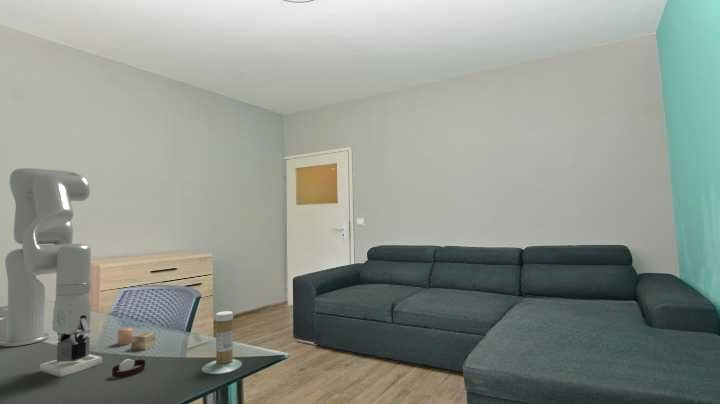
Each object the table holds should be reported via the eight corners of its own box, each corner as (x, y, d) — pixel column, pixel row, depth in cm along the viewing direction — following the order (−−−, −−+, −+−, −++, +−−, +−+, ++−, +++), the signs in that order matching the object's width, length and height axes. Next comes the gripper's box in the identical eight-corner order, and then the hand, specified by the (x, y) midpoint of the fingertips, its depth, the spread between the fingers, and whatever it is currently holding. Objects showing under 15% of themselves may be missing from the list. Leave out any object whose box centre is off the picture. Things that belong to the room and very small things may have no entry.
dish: (40, 371, 100) (40, 364, 100) (81, 358, 109) (81, 352, 109) (60, 377, 96) (60, 370, 96) (101, 363, 105) (102, 357, 105)
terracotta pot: (114, 344, 122) (114, 330, 123) (127, 340, 126) (128, 326, 127) (122, 345, 120) (122, 331, 121) (136, 341, 124) (136, 328, 125)
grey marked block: (89, 354, 105) (89, 336, 106) (75, 361, 100) (75, 342, 101) (71, 354, 105) (72, 336, 106) (56, 361, 100) (57, 342, 101)
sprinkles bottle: (231, 357, 107) (231, 309, 108) (234, 362, 103) (233, 313, 104) (214, 360, 105) (214, 311, 106) (216, 365, 101) (216, 315, 102)
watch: (141, 367, 102) (141, 353, 102) (148, 371, 99) (148, 357, 99) (108, 376, 96) (109, 362, 96) (115, 380, 93) (115, 366, 93)
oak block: (131, 349, 117) (131, 336, 117) (141, 345, 121) (141, 332, 121) (145, 350, 116) (145, 336, 116) (154, 345, 120) (154, 333, 120)
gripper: (41, 290, 104) (39, 356, 103) (75, 294, 97) (73, 366, 95) (71, 286, 111) (70, 348, 110) (106, 289, 103) (104, 356, 102)
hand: (71, 355), depth 103 cm, fingers closed on grey marked block, 5 cm apart
